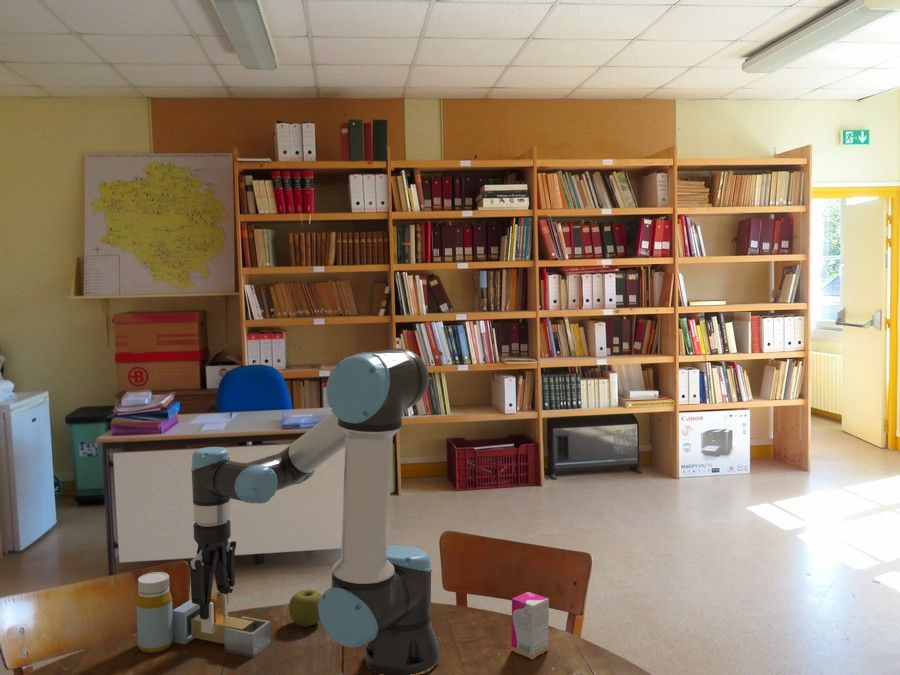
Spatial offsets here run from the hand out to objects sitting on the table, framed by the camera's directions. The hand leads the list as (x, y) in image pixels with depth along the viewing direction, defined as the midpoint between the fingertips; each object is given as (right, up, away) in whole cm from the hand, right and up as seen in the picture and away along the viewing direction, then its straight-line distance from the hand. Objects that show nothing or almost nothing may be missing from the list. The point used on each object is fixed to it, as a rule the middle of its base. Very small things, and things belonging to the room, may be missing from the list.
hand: (214, 627), depth 168 cm
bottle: (-12, -4, -2) cm, 13 cm away
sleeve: (+8, -3, -3) cm, 9 cm away
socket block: (-6, -3, +3) cm, 7 cm away
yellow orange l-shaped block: (+2, -2, -1) cm, 3 cm away
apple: (+18, -3, +9) cm, 20 cm away
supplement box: (+67, -4, -4) cm, 67 cm away
